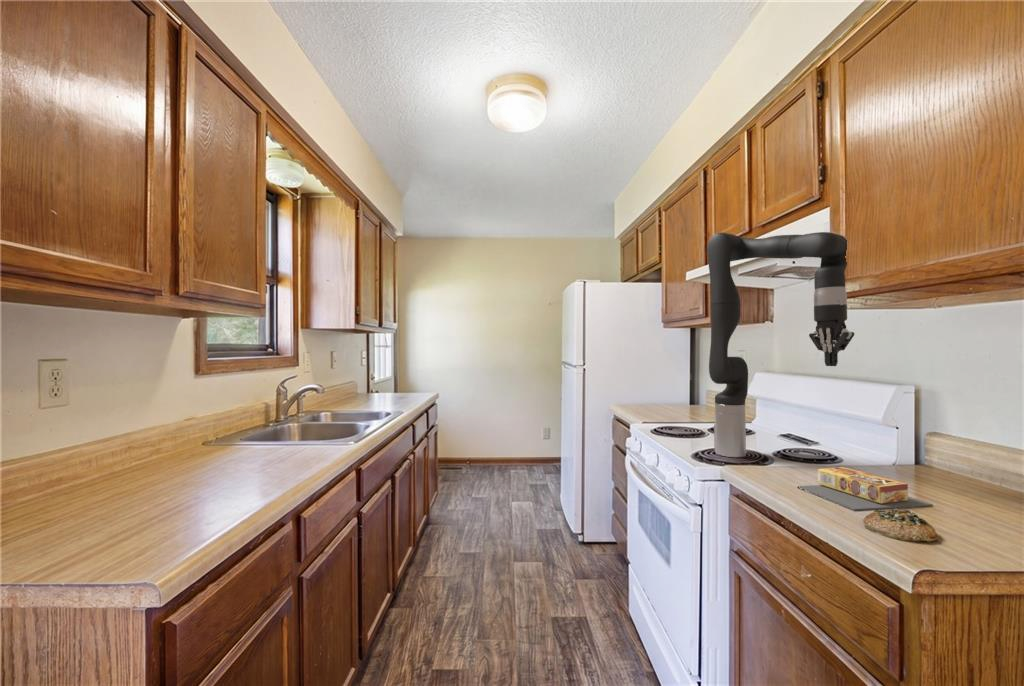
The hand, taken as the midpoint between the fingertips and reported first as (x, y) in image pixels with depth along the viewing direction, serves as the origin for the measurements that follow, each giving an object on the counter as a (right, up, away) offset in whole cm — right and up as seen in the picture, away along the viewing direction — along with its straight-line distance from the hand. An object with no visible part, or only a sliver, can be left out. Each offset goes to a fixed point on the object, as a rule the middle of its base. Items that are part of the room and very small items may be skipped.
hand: (831, 366), depth 121 cm
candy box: (-6, -28, -7) cm, 30 cm away
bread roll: (-13, -31, -36) cm, 49 cm away
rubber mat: (-5, -31, -16) cm, 35 cm away
